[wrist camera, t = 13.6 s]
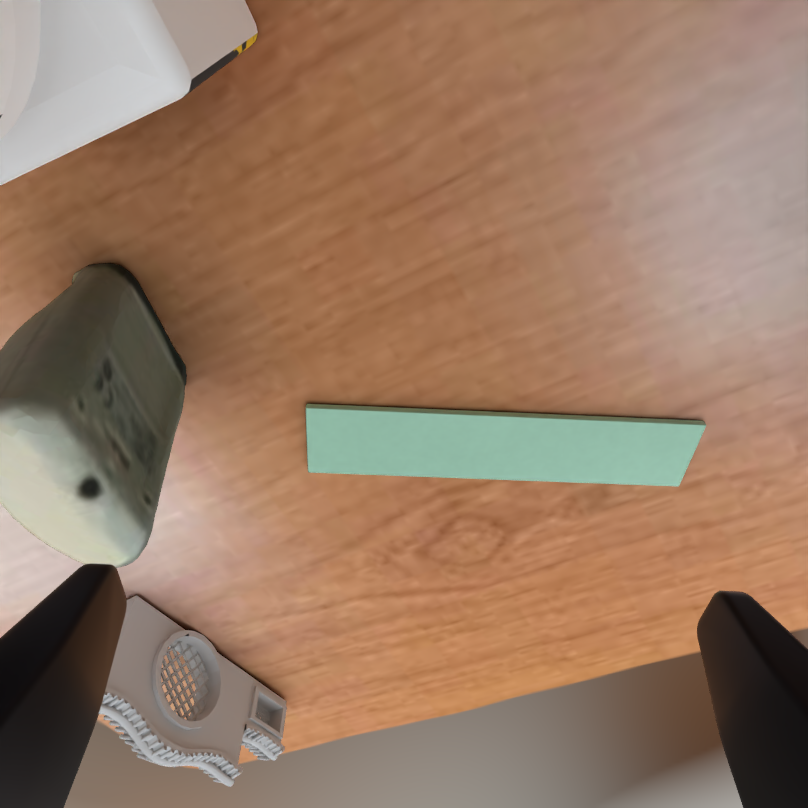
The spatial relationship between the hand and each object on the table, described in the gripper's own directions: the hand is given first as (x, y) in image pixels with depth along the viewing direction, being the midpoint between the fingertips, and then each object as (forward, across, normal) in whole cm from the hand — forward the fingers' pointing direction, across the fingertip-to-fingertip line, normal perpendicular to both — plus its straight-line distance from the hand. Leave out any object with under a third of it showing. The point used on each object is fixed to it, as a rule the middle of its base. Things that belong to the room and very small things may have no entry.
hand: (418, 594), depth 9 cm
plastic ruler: (+13, -4, +8) cm, 15 cm away
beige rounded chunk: (+13, +9, +4) cm, 16 cm away
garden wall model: (+13, +9, +23) cm, 27 cm away
